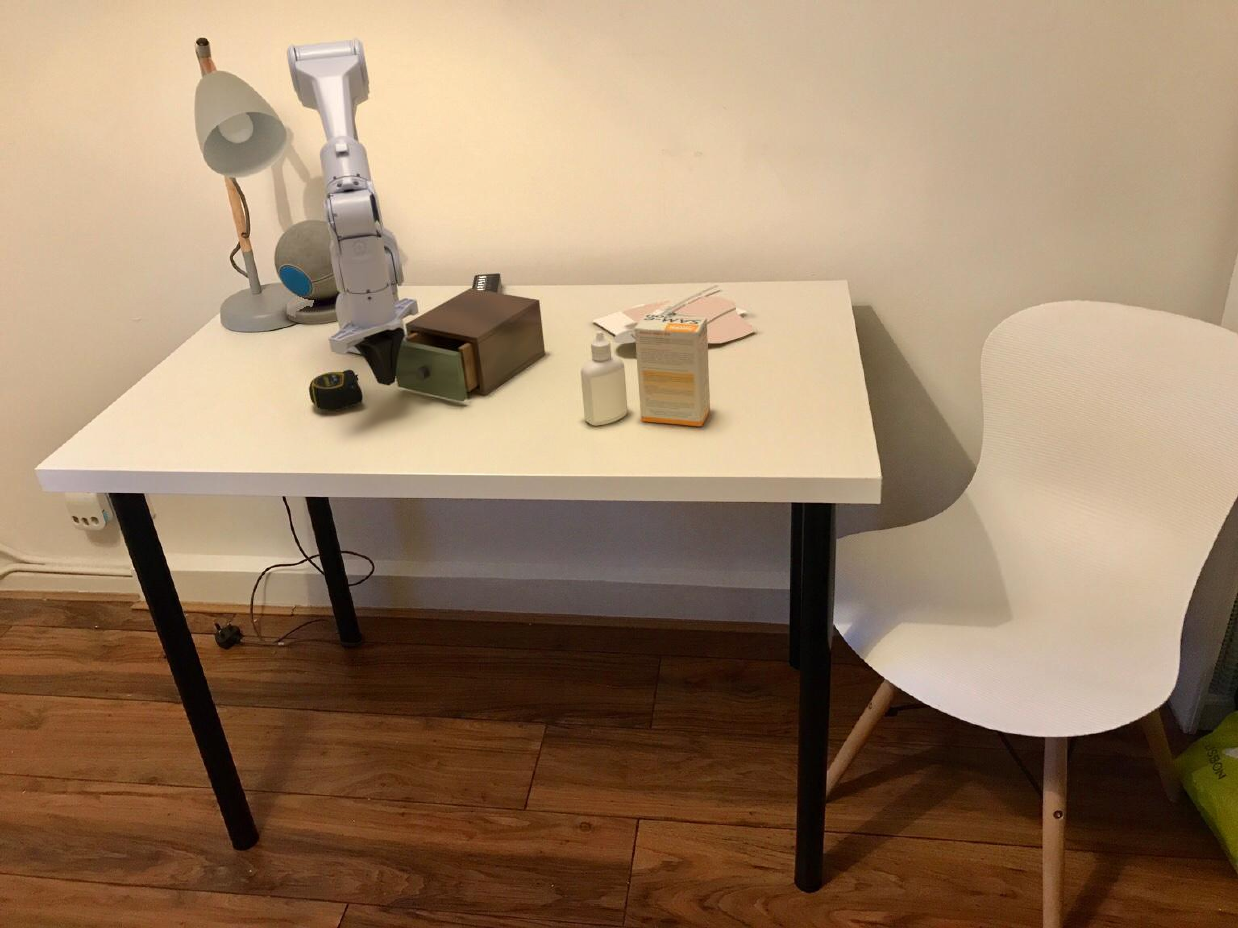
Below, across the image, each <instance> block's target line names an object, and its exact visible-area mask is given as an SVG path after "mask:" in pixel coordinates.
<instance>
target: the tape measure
mask: <svg viewBox="0 0 1238 928" xmlns="http://www.w3.org/2000/svg"><path fill="white" fill-rule="evenodd" d="M358 376H359V374H356V373H355V371H354V370H353V369H346V370H343V371H330V372H325V373H322V374H320V375H317V376H315V377H314V378H313V379H312V380H311V381H310V384H309V386H308V393H309V397H310V401H311V402H312V404H313V405H314V406H315V407H316V408H317V409H319V410H323V411H340V410H343V409H346V408H350V407H352V406H356V405H358V404H360V403H362V402H363V399H364V396H363V392H362V388H361V387H360V384H359V382H358V381H359V377H358Z"/></svg>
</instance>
